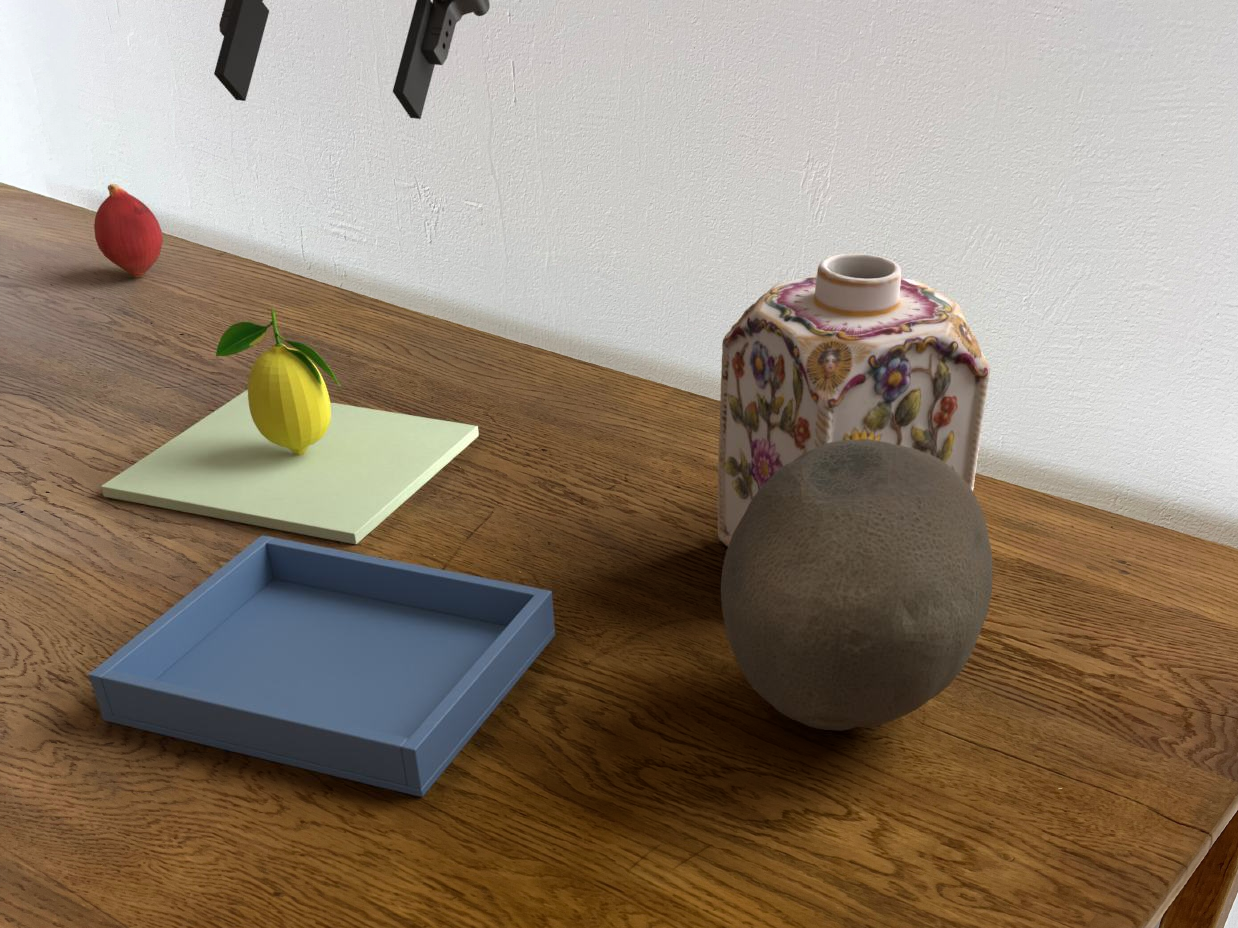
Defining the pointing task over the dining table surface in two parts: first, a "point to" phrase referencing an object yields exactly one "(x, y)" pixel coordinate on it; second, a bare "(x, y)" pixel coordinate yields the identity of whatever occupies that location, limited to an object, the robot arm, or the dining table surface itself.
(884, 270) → the decorative jar
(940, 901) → the dining table surface
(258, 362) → the lemon
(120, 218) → the onion
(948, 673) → the cantaloupe
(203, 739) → the tray
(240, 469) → the mat
